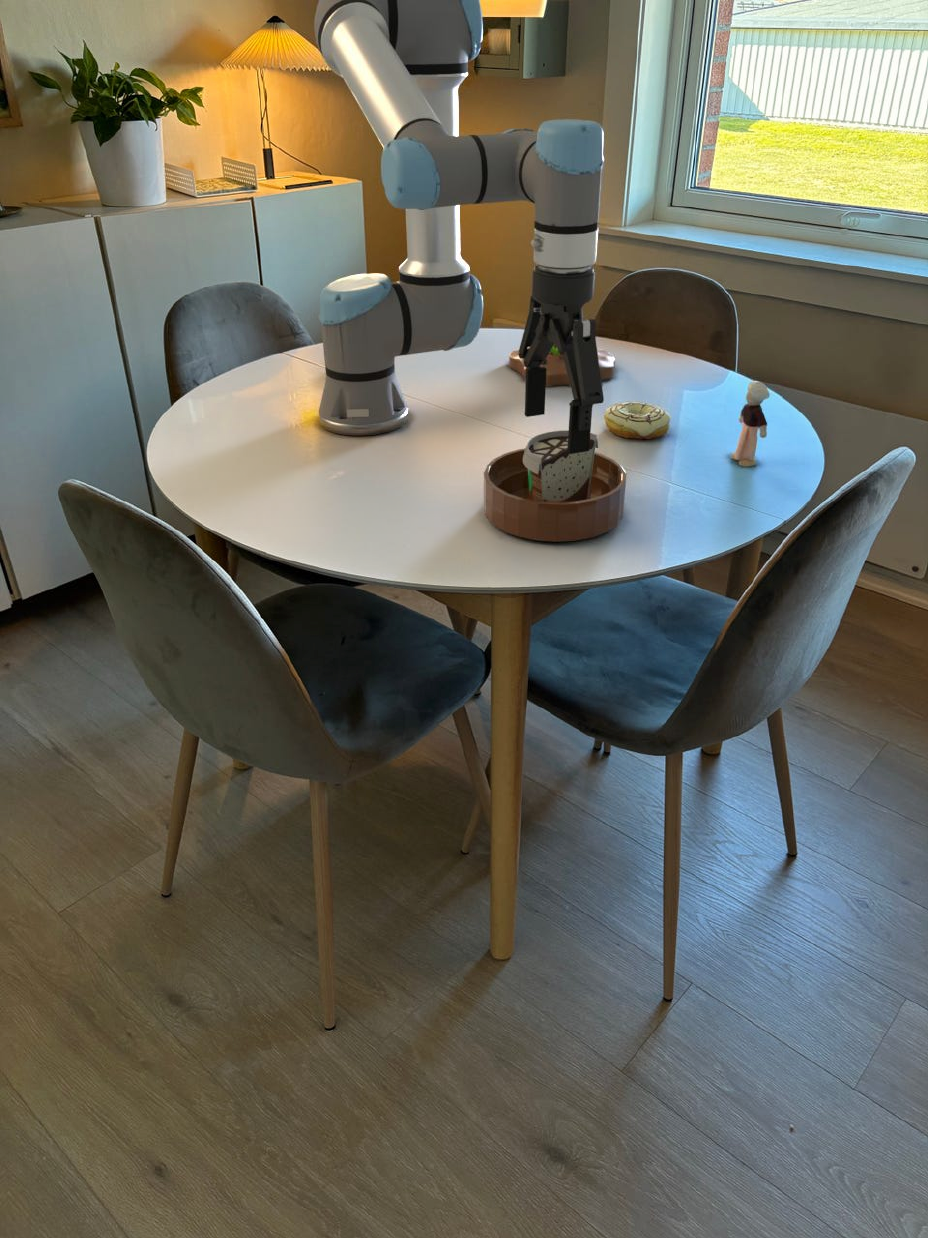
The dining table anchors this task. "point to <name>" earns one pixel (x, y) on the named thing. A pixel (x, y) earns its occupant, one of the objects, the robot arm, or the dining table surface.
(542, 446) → the food container
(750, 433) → the grandmother figurine
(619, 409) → the decorated donut
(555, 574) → the dining table surface
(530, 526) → the bowl
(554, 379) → the plant
